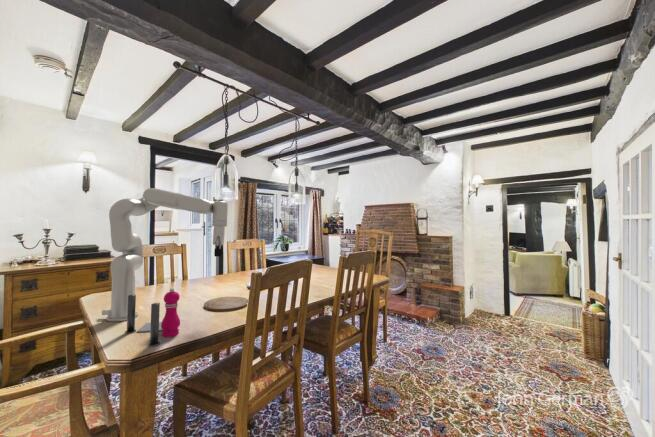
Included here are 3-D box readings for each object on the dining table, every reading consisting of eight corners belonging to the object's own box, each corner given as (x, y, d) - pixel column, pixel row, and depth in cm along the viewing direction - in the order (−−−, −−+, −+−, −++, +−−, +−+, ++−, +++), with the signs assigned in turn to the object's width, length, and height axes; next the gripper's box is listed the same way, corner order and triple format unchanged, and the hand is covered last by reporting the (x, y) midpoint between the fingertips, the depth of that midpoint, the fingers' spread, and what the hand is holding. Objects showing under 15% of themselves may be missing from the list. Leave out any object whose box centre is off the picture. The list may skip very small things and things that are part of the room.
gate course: (102, 350, 102) (104, 307, 102) (130, 328, 123) (131, 292, 124) (163, 345, 107) (164, 304, 107) (179, 325, 128) (180, 291, 128)
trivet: (234, 313, 147) (234, 310, 147) (194, 310, 152) (194, 306, 152) (255, 301, 171) (255, 298, 171) (220, 298, 176) (220, 295, 176)
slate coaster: (136, 332, 119) (136, 331, 119) (146, 324, 128) (146, 323, 128) (162, 330, 121) (162, 329, 121) (169, 322, 131) (169, 321, 131)
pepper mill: (166, 331, 121) (167, 286, 121) (182, 331, 121) (184, 286, 122) (157, 338, 114) (158, 290, 114) (175, 337, 114) (176, 290, 115)
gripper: (214, 223, 155) (213, 253, 154) (210, 223, 138) (208, 257, 138) (228, 223, 157) (227, 253, 156) (225, 224, 140) (224, 257, 140)
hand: (218, 255), depth 147 cm, fingers open, 9 cm apart
